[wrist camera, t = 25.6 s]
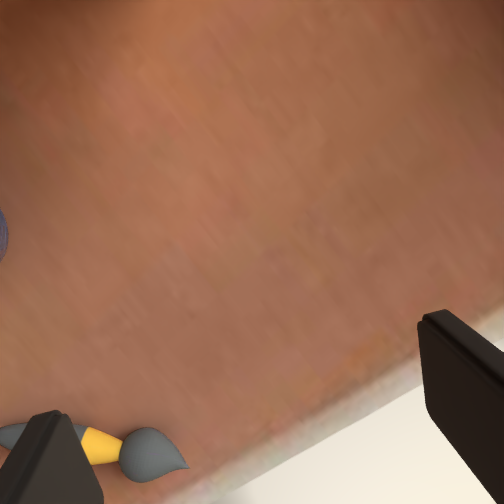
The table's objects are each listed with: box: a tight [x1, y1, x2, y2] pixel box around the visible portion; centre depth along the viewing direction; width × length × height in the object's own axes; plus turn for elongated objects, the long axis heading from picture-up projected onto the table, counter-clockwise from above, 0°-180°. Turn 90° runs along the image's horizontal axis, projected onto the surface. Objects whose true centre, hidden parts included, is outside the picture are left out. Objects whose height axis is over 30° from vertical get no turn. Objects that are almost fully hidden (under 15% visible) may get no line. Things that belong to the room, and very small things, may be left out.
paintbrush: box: [0, 423, 189, 483], centre depth 41 cm, size 20×5×5 cm, turn 84°
